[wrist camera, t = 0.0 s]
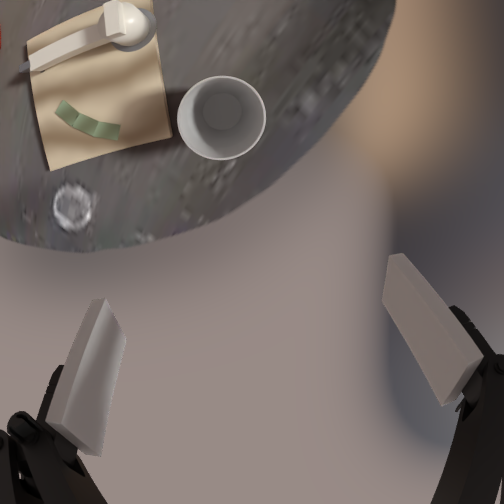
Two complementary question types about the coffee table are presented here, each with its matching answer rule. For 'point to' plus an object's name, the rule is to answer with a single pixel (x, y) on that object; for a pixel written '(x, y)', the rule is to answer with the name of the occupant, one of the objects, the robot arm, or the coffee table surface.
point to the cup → (221, 117)
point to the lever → (94, 36)
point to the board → (99, 94)
